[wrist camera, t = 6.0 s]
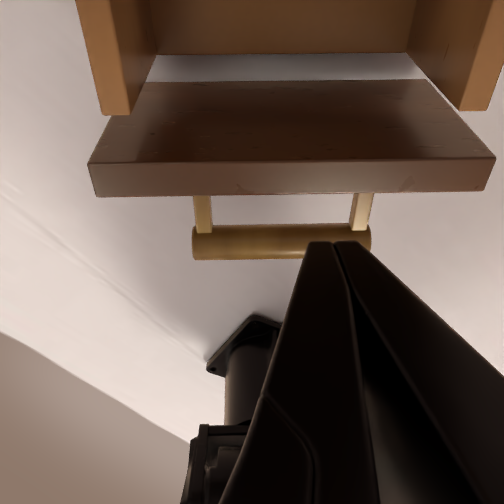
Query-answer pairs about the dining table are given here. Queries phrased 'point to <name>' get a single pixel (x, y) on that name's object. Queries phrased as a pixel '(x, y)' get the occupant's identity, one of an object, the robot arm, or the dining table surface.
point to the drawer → (290, 109)
